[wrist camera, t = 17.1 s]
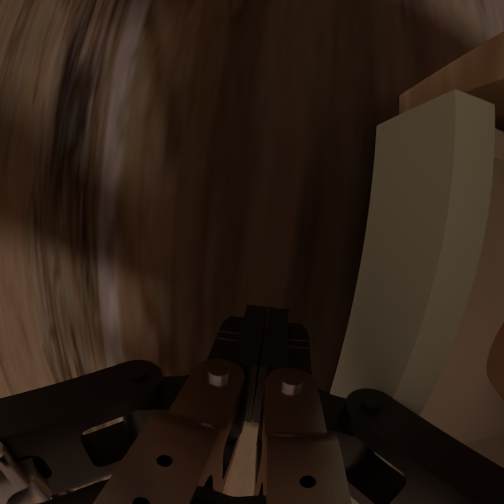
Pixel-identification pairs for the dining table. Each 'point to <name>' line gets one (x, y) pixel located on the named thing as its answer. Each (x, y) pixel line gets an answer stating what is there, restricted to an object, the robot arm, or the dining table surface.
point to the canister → (497, 362)
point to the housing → (466, 79)
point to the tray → (433, 271)
